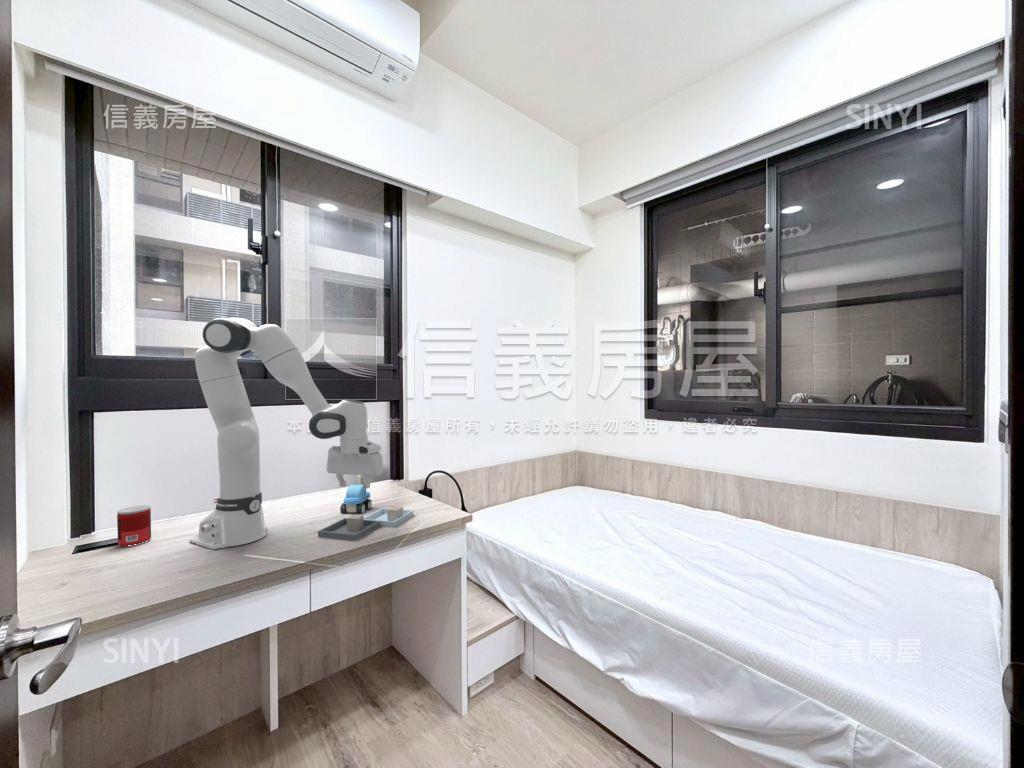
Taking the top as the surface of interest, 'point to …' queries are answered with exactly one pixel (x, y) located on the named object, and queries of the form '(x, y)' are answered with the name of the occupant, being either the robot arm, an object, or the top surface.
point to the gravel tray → (341, 532)
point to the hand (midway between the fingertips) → (354, 487)
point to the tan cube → (355, 522)
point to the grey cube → (394, 513)
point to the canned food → (134, 525)
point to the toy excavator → (356, 498)
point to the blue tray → (382, 517)
